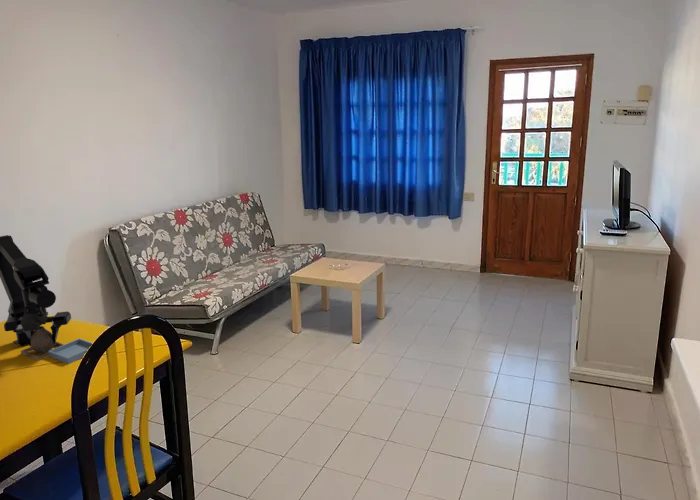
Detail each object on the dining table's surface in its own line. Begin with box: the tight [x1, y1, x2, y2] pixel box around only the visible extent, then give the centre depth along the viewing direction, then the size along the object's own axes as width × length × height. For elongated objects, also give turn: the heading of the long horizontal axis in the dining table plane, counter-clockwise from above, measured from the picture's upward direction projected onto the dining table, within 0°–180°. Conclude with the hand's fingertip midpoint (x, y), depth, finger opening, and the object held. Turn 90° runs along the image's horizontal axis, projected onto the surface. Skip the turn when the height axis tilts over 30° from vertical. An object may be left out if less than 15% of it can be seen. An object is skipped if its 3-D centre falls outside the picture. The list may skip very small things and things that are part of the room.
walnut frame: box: [20, 341, 65, 361], centre depth 176 cm, size 10×10×1 cm
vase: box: [30, 325, 55, 355], centre depth 175 cm, size 7×7×9 cm
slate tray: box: [48, 337, 93, 365], centre depth 174 cm, size 11×11×2 cm
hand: (43, 344), depth 175 cm, fingers closed on vase, 7 cm apart
